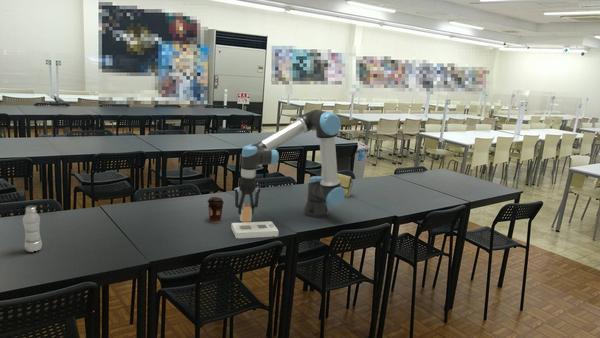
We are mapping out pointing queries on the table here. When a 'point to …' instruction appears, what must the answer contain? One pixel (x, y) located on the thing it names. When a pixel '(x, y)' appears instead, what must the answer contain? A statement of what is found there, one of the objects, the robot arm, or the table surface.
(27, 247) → the plastic bottle
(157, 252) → the table surface
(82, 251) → the table surface
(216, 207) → the coffee cup
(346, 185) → the clutch purse
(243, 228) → the socket box
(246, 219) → the tan rectangular block
